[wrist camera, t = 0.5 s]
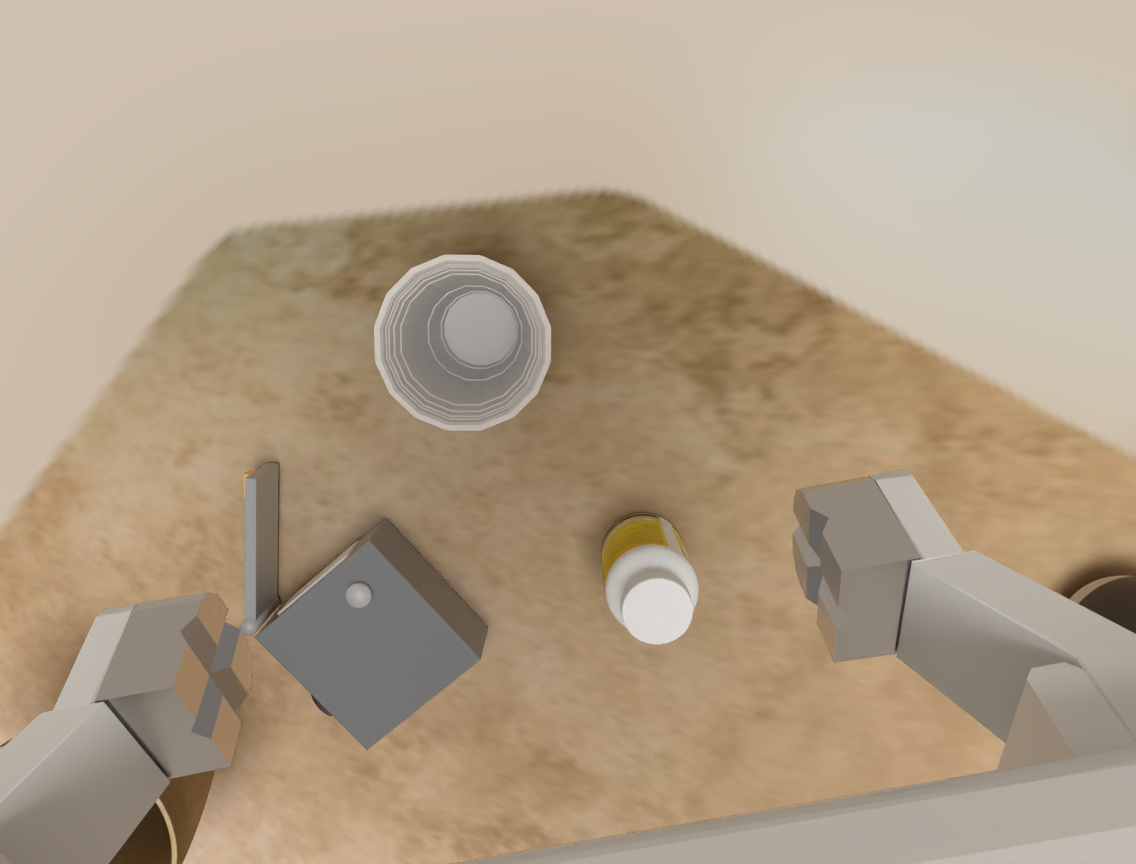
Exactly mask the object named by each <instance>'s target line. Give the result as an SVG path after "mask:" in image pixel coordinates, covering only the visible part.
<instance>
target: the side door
mask: <svg viewBox="0 0 1136 864" xmlns="http://www.w3.org/2000/svg"><path fill="white" fill-rule="evenodd" d="M278 470H279V463H267V464H265V465H264V466H262V467H261V468H259V469H258V470H250V471H248V472H247V473H245V474H244V498H245V620H244V621H243V622H242V623H241V625H240V630H241V631H242V633H243V634H244V635H246V636H252V635H253V634H255V632H256V631H257V630H258V629H259V628H260V627H261V625H262V624H263V623H264V622H265V621H266V620H267V618H268V617H269V616H270V615H271V614H272V612H273V611H274V610H275V609H276V608H277V607H278V605H279V604H280V599H279V597H278V596H277V581H278Z"/></svg>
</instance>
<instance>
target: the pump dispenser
mask: <svg viewBox="0 0 1136 864" xmlns="http://www.w3.org/2000/svg"><path fill="white" fill-rule="evenodd" d="M1070 600H1072V601H1073V602H1075V603H1077V604H1079V605H1081V606H1083V607H1085V608H1087V609H1089V610H1091V611H1093V612H1095V613H1097V614H1098V615H1100V616H1102V617H1104V618H1106V619H1108V620H1110V621H1112V622H1114V623H1116V624H1118V625H1120V626H1122V627H1123V628H1125V629H1127V630H1129V631H1131V632H1133V633H1135V634H1136V576H1126V575H1125V576H1111V577H1106V578H1102V579H1099V580H1096V581H1093V582H1091V583H1089V584H1087V585H1086V586H1084V587H1082V588H1081V589H1080V590H1078V591H1077V592H1076V593H1075V594H1074V595H1073V596H1072V597H1071V598H1070Z"/></svg>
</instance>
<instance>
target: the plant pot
mask: <svg viewBox="0 0 1136 864" xmlns="http://www.w3.org/2000/svg"><path fill="white" fill-rule="evenodd" d="M11 740H12V739H11ZM11 740H9V741H7V742H6V743H4V744H2V745H1V746H0V750H1V749H2V748H3V747H4V746H5V745H6V744H7V743H8V742H10V741H11ZM213 774H214V770H211V771H206V772H201V773H196V774H192V775H187V776H182V777H177V778H172V779H169V780H170V783H169V785H168V786H167V787H166V789H165V790H164V791H163V793H162V794H161V795H160V797H159V798H158V799H157V801H156V802H155V803H154V805H153V806H152V807H151V809H150V810H149V811H148V813H147V814H146V815H145V817H144V818H143V819H142V821H141V822H140V823H139V824H138V826H137V827H136V828H135V830H134V831H133V832H132V834H131V835H130V836H129V838H128V839H127V840H126V842H125V843H124V844H123V846H122V847H121V848H120V850H119V851H118V852H117V854H116V855H115V856H114V858H113V859H112V860H111V862H110V863H109V864H182V863H183V861H184V859H185V857H186V854H187V852H188V849H189V847H190V845H191V842H192V840H193V837H194V835H195V832H196V829H197V827H198V824H199V821H200V818H201V815H202V812H203V809H204V806H205V803H206V800H207V797H208V793H209V790H210V786H211V782H212V778H213Z"/></svg>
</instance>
